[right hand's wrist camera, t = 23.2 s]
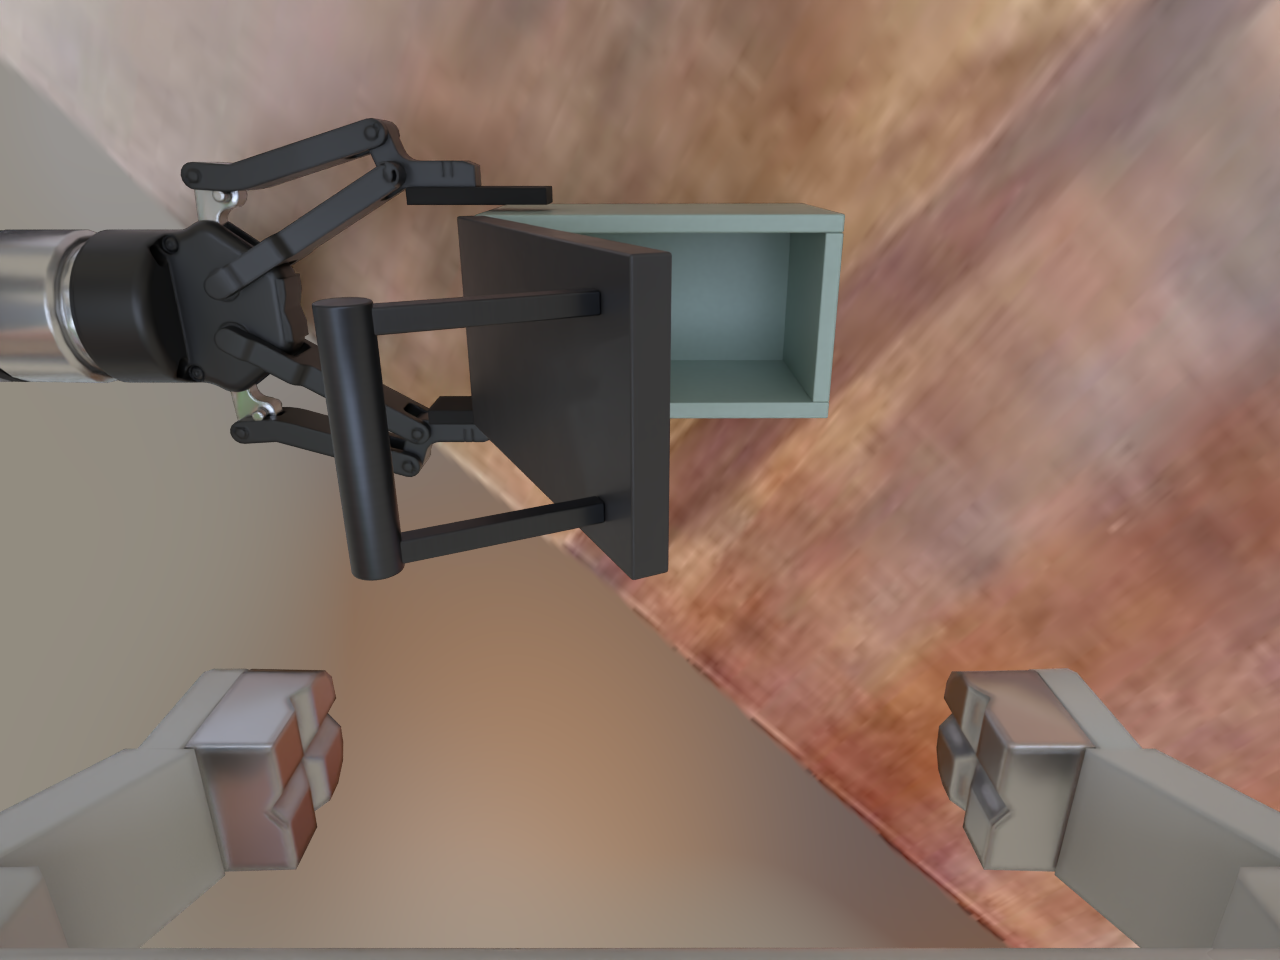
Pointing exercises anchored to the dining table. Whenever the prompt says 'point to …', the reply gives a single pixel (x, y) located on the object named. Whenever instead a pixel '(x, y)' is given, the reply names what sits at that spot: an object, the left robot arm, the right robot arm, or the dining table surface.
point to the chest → (732, 297)
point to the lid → (522, 394)
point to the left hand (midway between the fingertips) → (553, 307)
